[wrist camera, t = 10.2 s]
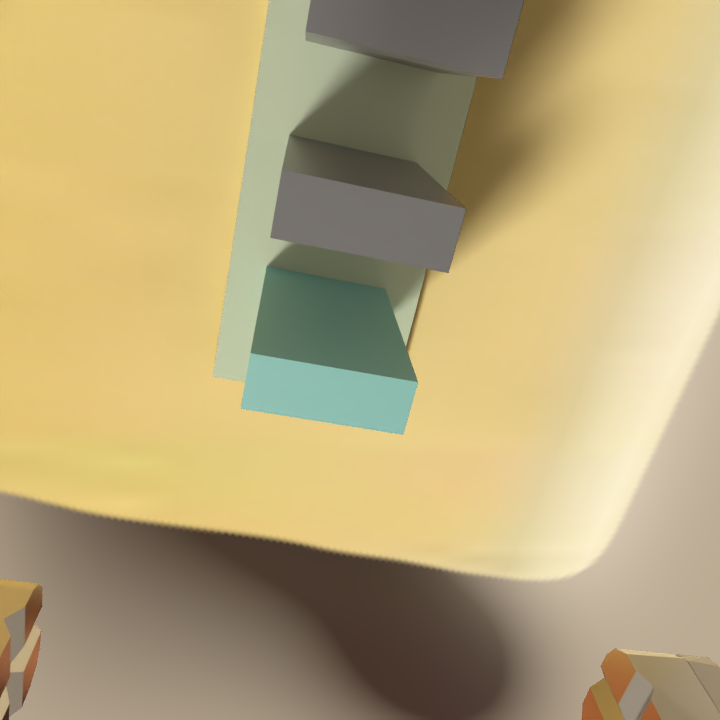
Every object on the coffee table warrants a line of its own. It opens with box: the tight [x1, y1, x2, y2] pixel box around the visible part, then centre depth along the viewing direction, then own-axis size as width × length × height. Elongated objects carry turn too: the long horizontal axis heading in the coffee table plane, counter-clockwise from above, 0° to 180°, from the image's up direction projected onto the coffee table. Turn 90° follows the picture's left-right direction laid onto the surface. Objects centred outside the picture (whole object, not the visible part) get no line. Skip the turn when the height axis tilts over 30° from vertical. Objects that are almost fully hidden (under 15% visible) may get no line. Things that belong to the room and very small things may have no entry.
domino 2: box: [270, 134, 466, 273], centre depth 20 cm, size 2×4×8 cm, turn 78°
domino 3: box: [241, 266, 418, 435], centre depth 22 cm, size 2×4×8 cm, turn 77°
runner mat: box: [213, 0, 477, 382], centre depth 22 cm, size 26×7×1 cm, turn 168°
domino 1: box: [305, 0, 524, 79], centre depth 18 cm, size 2×4×8 cm, turn 78°
